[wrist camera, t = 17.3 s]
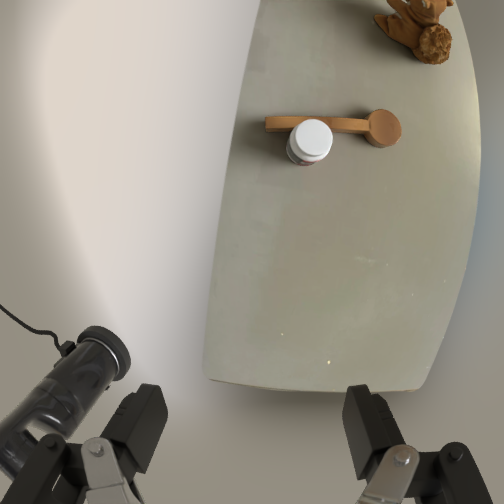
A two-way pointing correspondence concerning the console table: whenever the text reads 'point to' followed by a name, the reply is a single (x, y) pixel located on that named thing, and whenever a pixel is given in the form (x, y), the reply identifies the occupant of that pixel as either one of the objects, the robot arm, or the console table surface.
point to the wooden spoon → (348, 126)
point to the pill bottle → (309, 142)
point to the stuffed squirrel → (419, 28)
